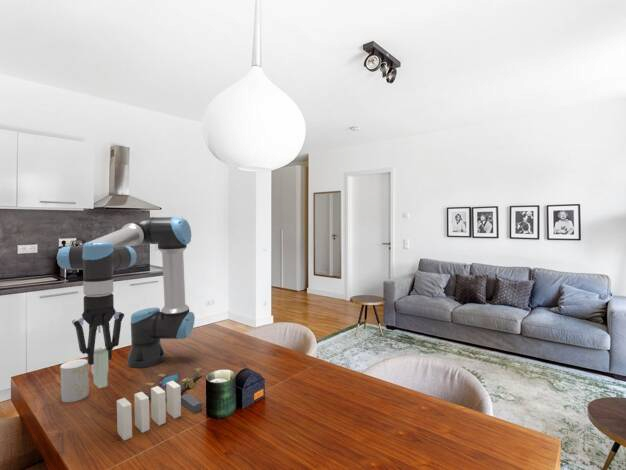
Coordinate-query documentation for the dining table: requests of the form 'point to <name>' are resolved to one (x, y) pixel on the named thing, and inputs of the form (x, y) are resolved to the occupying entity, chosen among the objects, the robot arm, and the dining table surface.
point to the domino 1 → (101, 368)
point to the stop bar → (191, 403)
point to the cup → (74, 380)
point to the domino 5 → (173, 399)
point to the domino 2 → (124, 418)
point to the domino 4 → (158, 405)
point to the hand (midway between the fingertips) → (100, 372)
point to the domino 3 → (142, 411)
